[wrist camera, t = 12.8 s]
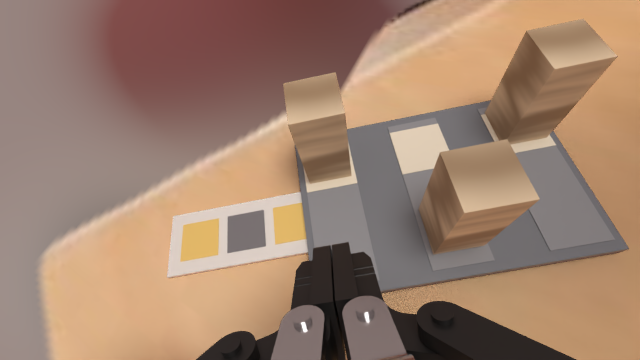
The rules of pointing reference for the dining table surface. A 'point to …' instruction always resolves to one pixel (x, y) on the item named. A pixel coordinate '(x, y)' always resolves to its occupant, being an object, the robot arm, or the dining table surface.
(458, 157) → the block
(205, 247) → the card
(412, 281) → the toggle board
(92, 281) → the dining table surface
